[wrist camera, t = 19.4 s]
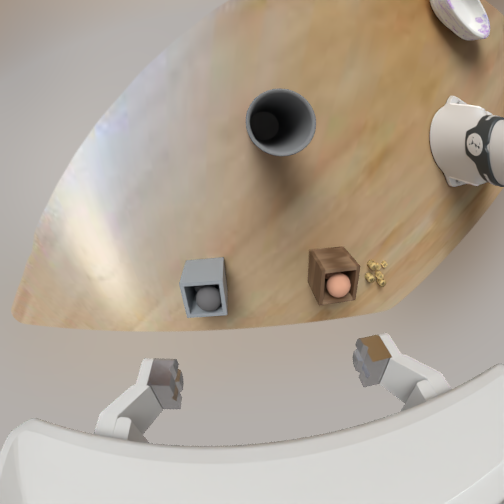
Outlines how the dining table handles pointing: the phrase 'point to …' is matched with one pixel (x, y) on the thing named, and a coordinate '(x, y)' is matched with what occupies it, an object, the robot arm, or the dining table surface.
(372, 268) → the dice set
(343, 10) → the dining table surface
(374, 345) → the robot arm
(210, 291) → the charcoal ball
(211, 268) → the grey square open box
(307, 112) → the cup
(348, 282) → the terracotta ball
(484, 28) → the white purple floral bowl
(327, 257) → the walnut tube
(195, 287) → the charcoal ball
